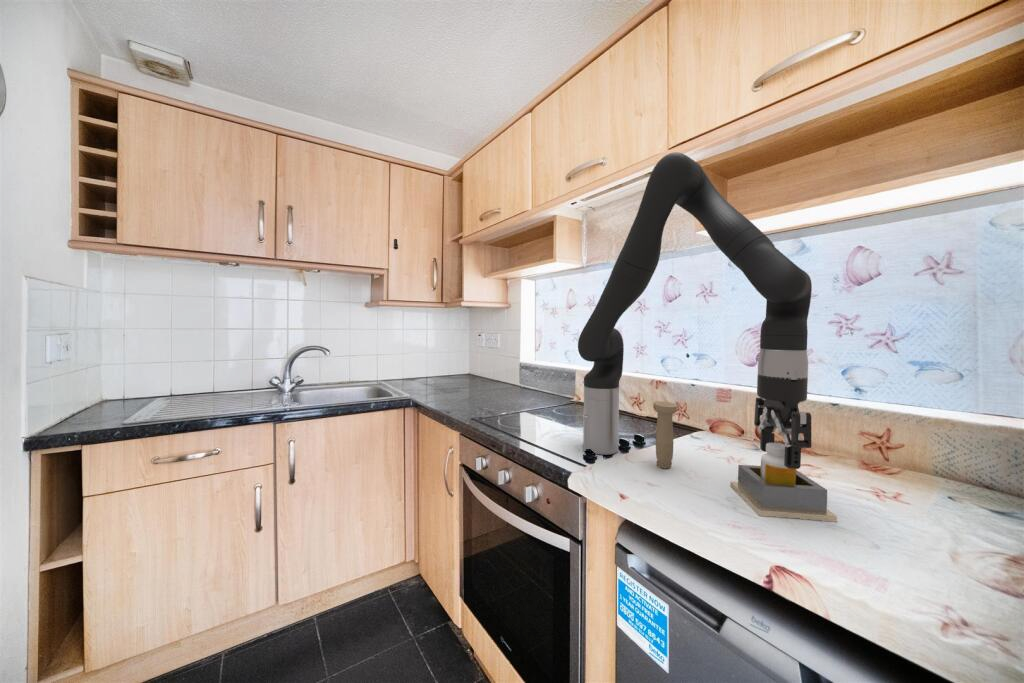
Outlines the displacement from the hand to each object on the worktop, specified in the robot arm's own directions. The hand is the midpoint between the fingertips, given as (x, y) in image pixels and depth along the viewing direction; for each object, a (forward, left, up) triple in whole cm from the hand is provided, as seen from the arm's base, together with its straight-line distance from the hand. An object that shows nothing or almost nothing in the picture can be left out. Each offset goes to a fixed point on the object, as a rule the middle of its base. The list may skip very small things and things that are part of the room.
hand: (778, 459), depth 68 cm
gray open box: (0, 0, -8) cm, 8 cm away
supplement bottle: (0, 0, -7) cm, 7 cm away
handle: (-17, +15, -8) cm, 24 cm away
